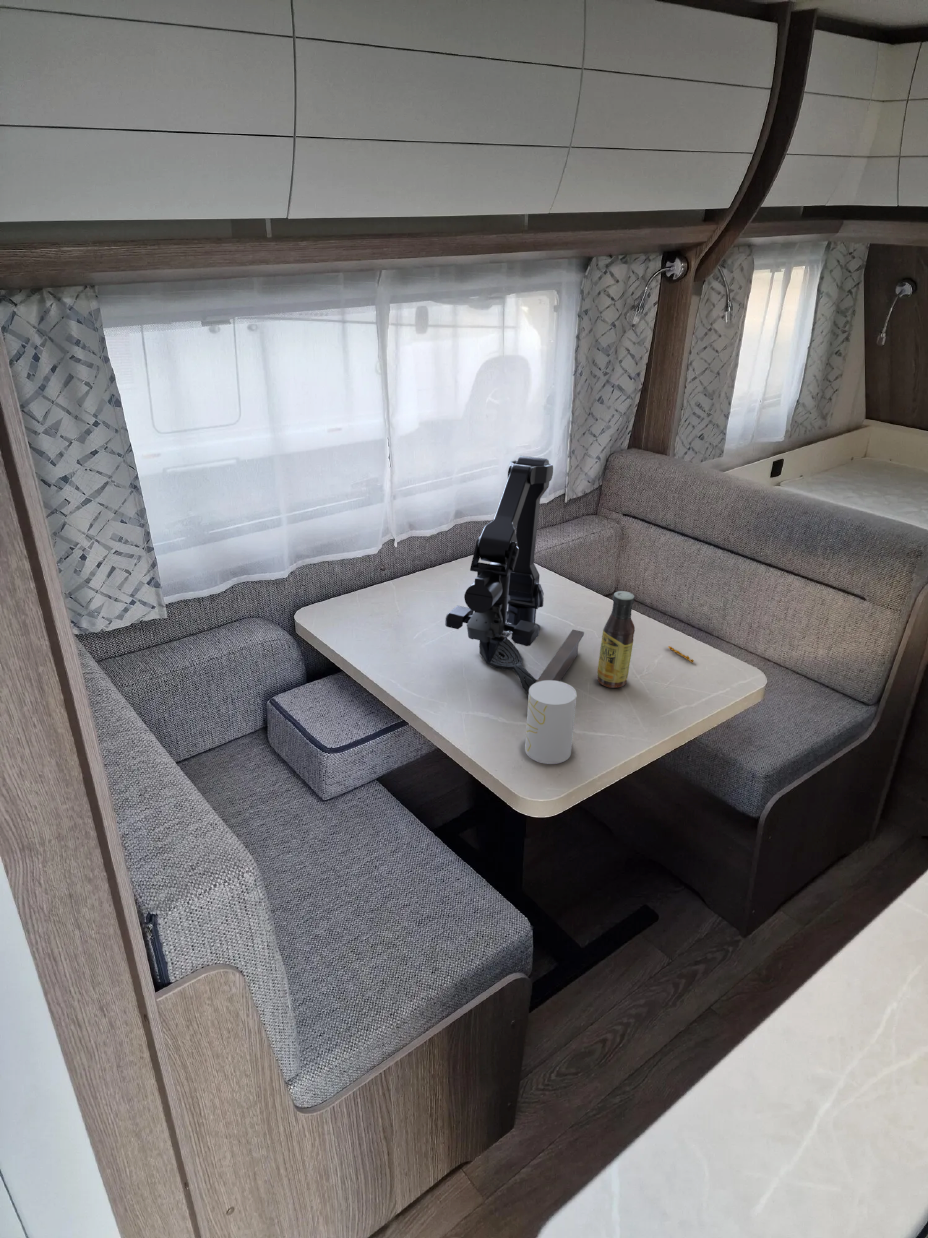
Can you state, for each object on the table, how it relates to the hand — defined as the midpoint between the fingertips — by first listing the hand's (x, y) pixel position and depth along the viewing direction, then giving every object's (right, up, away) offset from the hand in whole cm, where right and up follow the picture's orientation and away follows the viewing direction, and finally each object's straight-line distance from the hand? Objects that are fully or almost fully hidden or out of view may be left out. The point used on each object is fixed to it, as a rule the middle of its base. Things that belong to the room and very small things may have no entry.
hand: (489, 661), depth 171 cm
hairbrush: (+5, -2, 0) cm, 5 cm away
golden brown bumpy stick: (+42, +1, +8) cm, 43 cm away
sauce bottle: (+25, -4, -3) cm, 26 cm away
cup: (+10, -15, -26) cm, 31 cm away
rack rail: (+13, -4, -4) cm, 14 cm away
